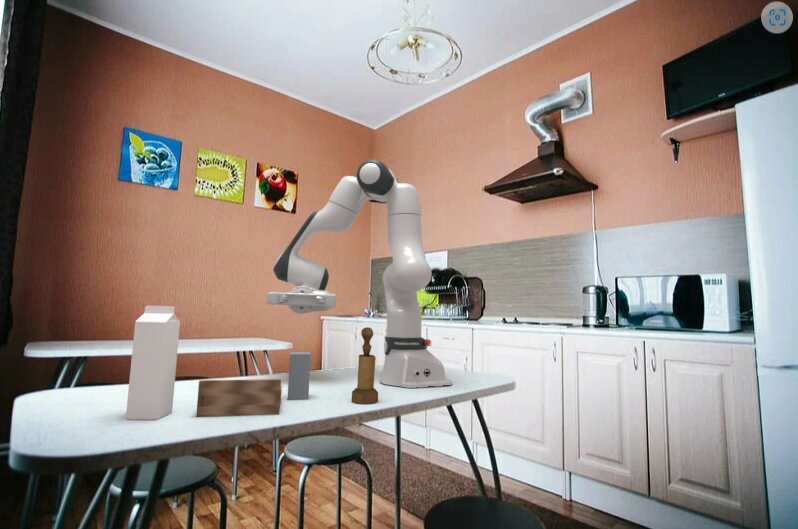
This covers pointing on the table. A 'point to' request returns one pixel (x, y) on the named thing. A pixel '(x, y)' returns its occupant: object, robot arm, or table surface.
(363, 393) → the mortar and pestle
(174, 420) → the table surface
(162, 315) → the milk
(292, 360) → the grey block
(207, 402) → the brown wooden block
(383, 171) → the robot arm
